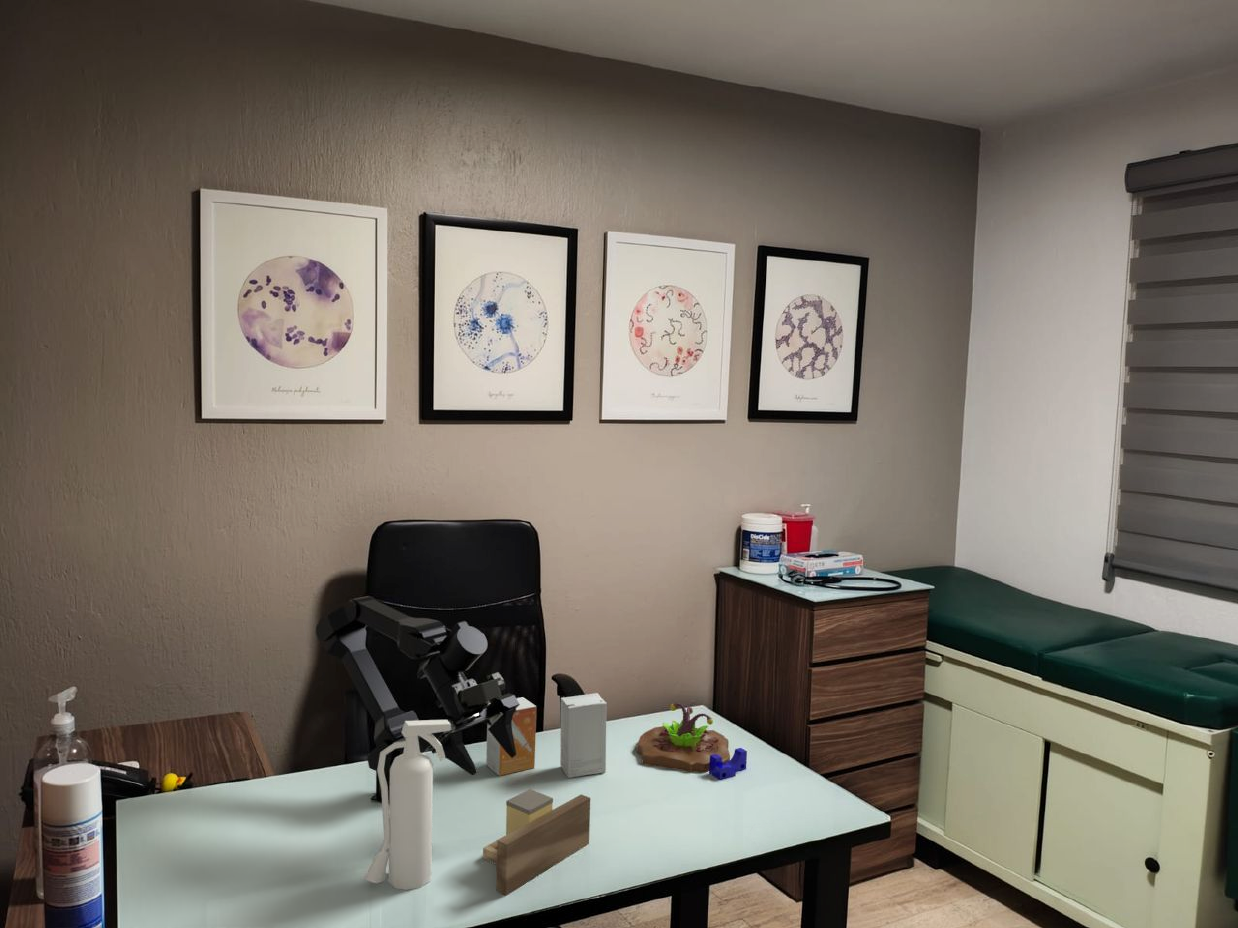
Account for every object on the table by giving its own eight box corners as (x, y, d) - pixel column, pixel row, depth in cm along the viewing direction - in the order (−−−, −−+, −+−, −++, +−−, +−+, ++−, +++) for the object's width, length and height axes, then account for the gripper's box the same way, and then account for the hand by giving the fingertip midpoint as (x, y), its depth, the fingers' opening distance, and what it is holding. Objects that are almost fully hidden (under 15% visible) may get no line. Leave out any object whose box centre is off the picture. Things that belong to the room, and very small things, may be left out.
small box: (499, 776, 172) (500, 712, 171) (485, 765, 177) (486, 702, 176) (535, 768, 176) (537, 705, 175) (521, 756, 181) (522, 695, 180)
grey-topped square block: (505, 860, 141) (506, 800, 141) (528, 846, 146) (530, 788, 145) (528, 871, 138) (529, 810, 138) (551, 856, 143) (553, 798, 142)
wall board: (458, 871, 138) (459, 822, 137) (543, 824, 154) (544, 780, 153) (505, 895, 131) (506, 844, 131) (589, 843, 147) (590, 797, 147)
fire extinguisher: (359, 874, 136) (366, 718, 133) (436, 861, 141) (444, 711, 139) (366, 898, 129) (374, 736, 127) (446, 883, 135) (456, 727, 133)
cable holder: (719, 780, 173) (720, 761, 173) (709, 774, 176) (709, 754, 176) (750, 772, 178) (751, 753, 177) (739, 766, 181) (740, 747, 180)
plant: (640, 732, 197) (642, 684, 196) (727, 738, 196) (729, 689, 195) (633, 770, 178) (635, 716, 177) (730, 777, 176) (732, 723, 175)
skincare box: (597, 761, 180) (599, 691, 179) (606, 774, 174) (608, 701, 173) (557, 766, 177) (559, 695, 176) (566, 779, 172) (568, 705, 170)
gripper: (432, 673, 140) (479, 759, 134) (513, 648, 155) (558, 724, 149) (399, 709, 145) (443, 793, 140) (481, 681, 160) (523, 756, 155)
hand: (495, 764), depth 146 cm, fingers open, 9 cm apart
